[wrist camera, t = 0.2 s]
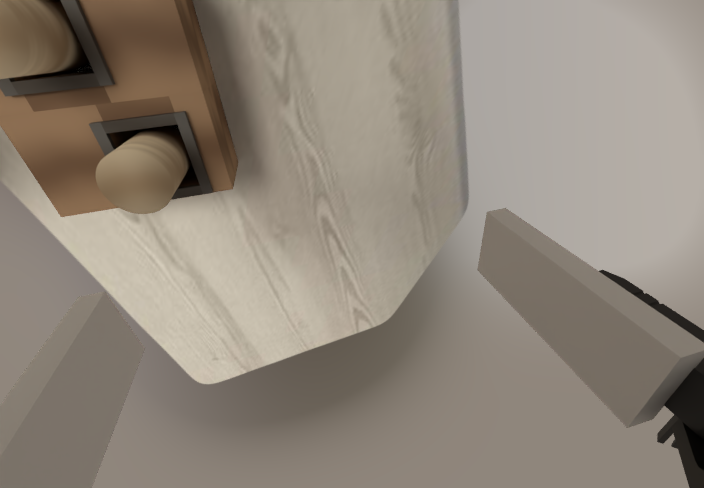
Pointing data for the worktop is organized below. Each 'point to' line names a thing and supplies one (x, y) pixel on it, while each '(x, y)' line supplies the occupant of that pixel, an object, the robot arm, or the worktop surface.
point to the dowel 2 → (144, 170)
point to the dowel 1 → (37, 39)
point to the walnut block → (120, 101)
